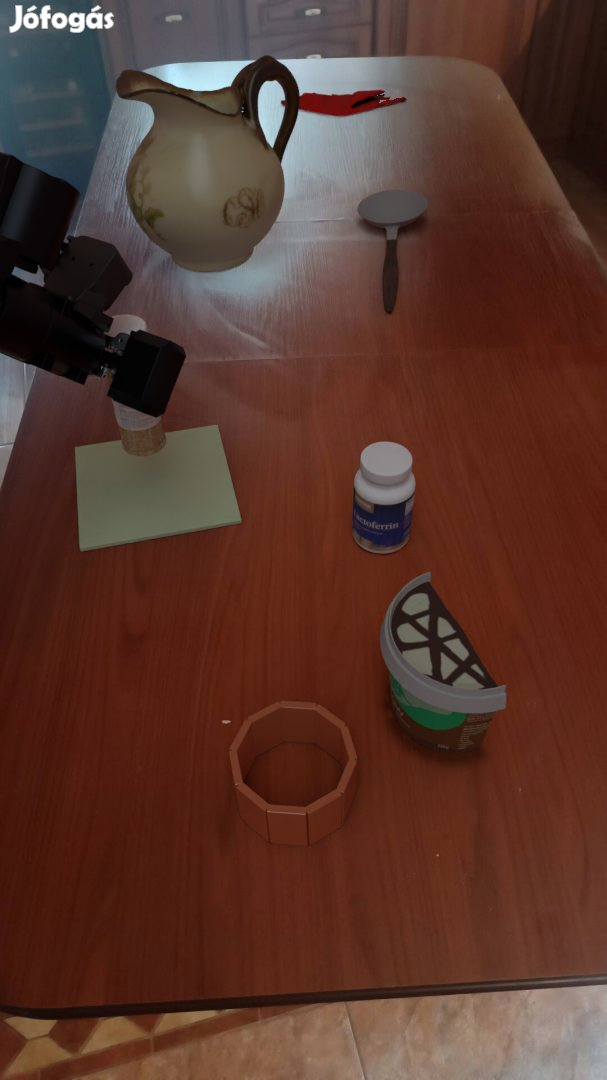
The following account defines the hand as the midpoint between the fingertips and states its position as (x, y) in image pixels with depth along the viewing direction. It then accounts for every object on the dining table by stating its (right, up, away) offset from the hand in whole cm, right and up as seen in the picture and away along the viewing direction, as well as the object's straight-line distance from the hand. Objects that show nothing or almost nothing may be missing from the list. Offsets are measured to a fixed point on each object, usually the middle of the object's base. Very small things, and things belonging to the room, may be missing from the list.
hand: (141, 374), depth 76 cm
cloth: (+23, +74, +89) cm, 118 cm away
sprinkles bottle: (-1, -6, +5) cm, 8 cm away
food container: (+24, -30, -11) cm, 40 cm away
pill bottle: (+23, -15, +3) cm, 28 cm away
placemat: (0, -10, +9) cm, 13 cm away
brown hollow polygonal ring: (+15, -34, -16) cm, 40 cm away
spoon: (+28, +26, +43) cm, 58 cm away
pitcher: (+2, +28, +46) cm, 54 cm away
